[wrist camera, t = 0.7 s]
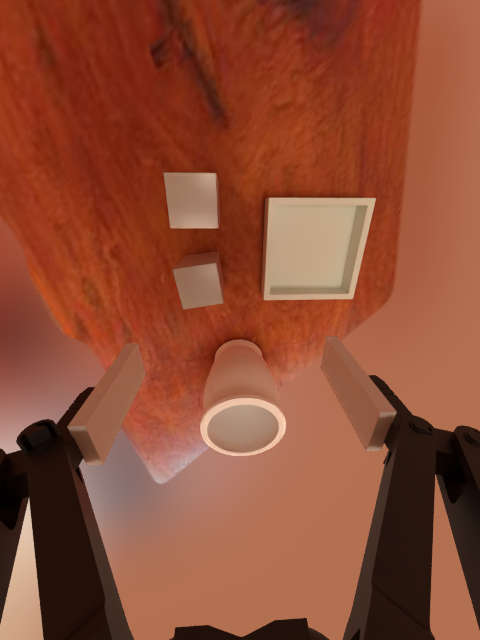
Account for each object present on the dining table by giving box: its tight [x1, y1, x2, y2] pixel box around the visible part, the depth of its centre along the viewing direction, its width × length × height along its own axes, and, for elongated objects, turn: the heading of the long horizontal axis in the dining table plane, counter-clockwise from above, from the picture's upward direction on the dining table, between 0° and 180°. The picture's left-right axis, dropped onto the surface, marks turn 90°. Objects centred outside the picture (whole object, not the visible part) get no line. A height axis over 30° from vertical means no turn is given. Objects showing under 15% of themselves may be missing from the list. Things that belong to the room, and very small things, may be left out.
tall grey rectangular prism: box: [164, 173, 220, 228], centre depth 27 cm, size 5×5×8 cm
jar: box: [200, 339, 286, 456], centre depth 35 cm, size 11×10×15 cm
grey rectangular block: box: [172, 251, 224, 309], centre depth 31 cm, size 5×5×8 cm
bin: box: [261, 198, 376, 300], centre depth 32 cm, size 13×13×4 cm
